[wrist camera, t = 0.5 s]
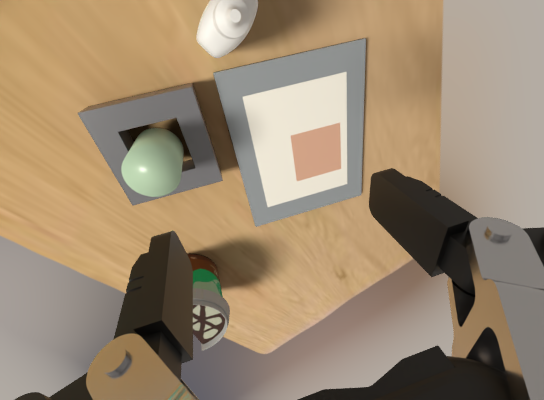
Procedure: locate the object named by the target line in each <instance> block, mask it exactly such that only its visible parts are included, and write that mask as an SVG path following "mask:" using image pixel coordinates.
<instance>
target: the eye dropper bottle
mask: <svg viewBox="0 0 544 400" xmlns="http://www.w3.org/2000/svg"><path fill="white" fill-rule="evenodd" d="M257 9H258V0H210V2H209V3H208V5H207V7H206V8H205V10H204V12H203V15H202V17H201V20H200V23H199V26H198V31H197V36H196V38H197V42H198V43H199V44H200V45H201V47H203V48H204V49H205V50H206V51H207V52H208V53H209V54H210V55H211V56H213V57H215V58H220V57H222V56H224V55H226V54H228V53H229V52H231V51H232V50H234V49H235V48H236V47H237V46H238V45H239V44H240V43H241V42H242V41H243V40H244V38H245V37H246V36H247V34H248V32H249V31H250V29H251V27H252V24H253V22H254V19H255V16H256V13H257Z"/></svg>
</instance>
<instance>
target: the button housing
mask: <svg viewBox="0 0 544 400" xmlns="http://www.w3.org/2000/svg"><path fill="white" fill-rule="evenodd" d="M78 115H79V117H80V118H81V120H82V122H83V123H84V125H85V127H86V128H87V130H88V132H89V133H90V135H91V137H92V138H93V140H94V142H95V143H96V145H97V147H98V148H99V150H100V152H101V153H102V155H103V157H104V158H105V160H106V162H107V163H108V165H109V167H110V168H111V170H112V172H113V173H114V175H115V177H116V178H117V180H118V182H119V183H120V185H121V187H122V188H123V190H124V192H125V193H126V195H127V197H128V198H129V200H130V202H131V204H132V205H137V204H140V203H144V202H147V201H151V200H155V199H158V198H162V197H165V196H169V195H173V194H176V193H180V192H183V191H187V190H191V189H194V188H198V187H202V186H205V185H209V184H212V183H216V182H220V181H223V180H222V175H221V170H220V167H219V164H218V161H217V158H216V155H215V152H214V149H213V145H212V142H211V139H210V136H209V133H208V130H207V127H206V124H205V121H204V118H203V115H202V112H201V109H200V105H199V102H198V99H197V96H196V93H195V90H194V87H193V84H192V83H189V84H184V85H180V86H176V87H171V88H167V89H163V90H158V91H154V92H150V93H145V94H141V95H137V96H132V97H128V98H124V99H119V100H115V101H111V102H106V103H102V104H98V105H93V106H89V107H87V108H85V109H84V110H82V111H80V112H79V113H78ZM173 118H177V121H178V123H179V126H180V128H181V131H182V134H183V136H184V139H185V141H186V144H187V147H188V149H189V152H190V154H191V157H192V160H189V161H185V162H183V165H182V174H181V180H180V183H179V185H178V186H177V188H176V189H175V190H174V191H172V192H171V193H169V194H167V195H164V196H159V197H150V196H145V195H142V194H140V193H137V192H136V191H134V190H133V189H131V188H130V187H129V186H128V185H127V183H126V182H125V180H124V178H123V176H122V171H121V167H122V163H123V160H124V158H125V157H126V155H127V153H128V152H129V150H130V149H131V147H132V145H133V144H134V142H133V140H132V138H131V136H130V134H129V132H128V129H132V128H136V127H140V126H144V125H148V124H152V123H157V122H161V121H165V120H169V119H173Z"/></svg>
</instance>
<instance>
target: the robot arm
mask: <svg viewBox="0 0 544 400" xmlns="http://www.w3.org/2000/svg"><path fill="white" fill-rule="evenodd" d="M369 208H370V211H371V214H372V215H373V217H374V218H375V219H376V220H377V221H378V222H379V223H380V224H381V225H382V226H383V227H384V228H385V230H386V231H387V232H388V233H389V234H390V235H391V236H392V237H393V238H394V239H395V240H396V241H397V242H398V243H399V244H400V245H401V246H402V247H403V248H404V249H405V250H406V251H407V252H408V253H409V254H410V255H411V256H412V257H413V258H414V259H415V260H416V261H417V263H419V265H420V266H421V267H422V268H423V269H424V270H425V271H426V272H427V273H428V274H429V275H430V276H431V277H433V276H436V275H439V274H442V273H445V274H447V275H448V276H449V278H448V282H447V285H448V292H449V300H450V307H451V314H452V322H453V329H454V340H453V345H452V357H450V356H446V355H445V354H444V353H443V352H442V350H441V349H440V347H439V346H435V347H433V348H430V349H427V350H425V351H423V352H420V353H417V354H415V355H412V356H409V357H407V358H404V359H402V360H401V361H400V362H399V363H397V364H396V365H395V366H394V367H393V368H392V369H391V370H389V371H388V372H387V373H386V374H385V375H384V376H383V377H381V378H380V379H379V380H378V381H377V382H376V383H374V384H373V385H372V386H370V387H364V388H345V389H325V390H321V391H319V392H316V393H314V394H311V395H308V396H306V397H303V398H301V399H298V400H544V228H526V229H522V228H520V227H519V226H517V225H515V224H513V223H511V222H508V221H506V220H502V219H498V218H490V217H484V218H477V217H475V216H473V215H472V214H470V213H469V212H467V211H466V210H464V209H463V208H461V207H460V206H458V205H457V204H455V203H454V202H452V201H451V200H449V199H448V198H446V197H445V196H441V194H440V193H439V192H437V191H436V190H432V188H431V187H429V186H428V185H426V184H425V183H423V182H422V181H419V180H416V179H414V178H411V177H408V176H407V177H405V176H404V175H402V174H401V173H400V172H398V171H397V170H395V169H393V168H391V169H387V170H384V171H380V172H377V173H374V174H373V175H372V177H371V185H370V198H369ZM126 292H127V293H126V294H125V298H124V302H123V305H122V309H121V313H120V317H119V321H118V325H117V329H116V332H115V336H114V339H113V340H112V341H111V342H110V343H108V344H107V345H106V346H105V347H104V348H103V349H102V350H101V351H100V352H99V353H98V354H97V356H96V357H95V358H94V360H93V362H92V363H91V365H90V367H89V370H88V372H87V373H86V374H84V375H83V376H82V377H80V378H78V379H77V380H75V381H74V382H72V383H71V384H69V385H68V386H66V387H65V388H63V389H61V390H60V391H58V392H57V393H55V394H54V395H52V396H51V397H47V396H45V395H43V394H41V393H37V392H34V393H28V394H25V395H22V396H20V397H18V398H17V399H15V400H199V399H198V398H197V397H196V395H195V394H194V393H193V392H192V391H191V390H190V388H189V387H188V386H187V385H186V384H185V383H184V382H183V380H182V379H181V364H182V363H184V362H187V361H190V360H193V270H192V265H191V262H190V259H189V257H188V255H187V253H186V251H185V249H184V247H183V246H182V244H181V242H180V240H179V238H178V236H177V234H176V233H175V232H174V231H171V232H167V233H164V234H161V235H157V236H154V237H152V238H151V242H150V247H149V252H148V253H145V254H141V255H140V257H139V258H138V260H137V261H136V263H135V264H134V265H133V267H132V270H131V274H130V278H129V283H128V286H127V289H126Z"/></svg>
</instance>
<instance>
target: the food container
mask: <svg viewBox="0 0 544 400" xmlns="http://www.w3.org/2000/svg"><path fill="white" fill-rule="evenodd" d="M187 255H188V257H189V259H190V262H191V265H192V270H193V334H194V335H195V336H196V337H197V338H198V340H199V341H200V342H201V344H202V351H203V350H206V349H208V348H209V347H211V346H212V345H214V344H215V343H217V342H218V341H219V340H220V339H221V338H222V337H223V336H224V334H225V332H226V329H227V326H228V323H229V314H230V309H229V305H228V303H227V301H226V300H225V299H224V298H223V296H222V291H221V286H220V281H219V276H218V270H217V267H216V265H215V263H214V262H213V261H212V260H211V259H209V258H207V257H205V256H202V255H198V254H187Z"/></svg>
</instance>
